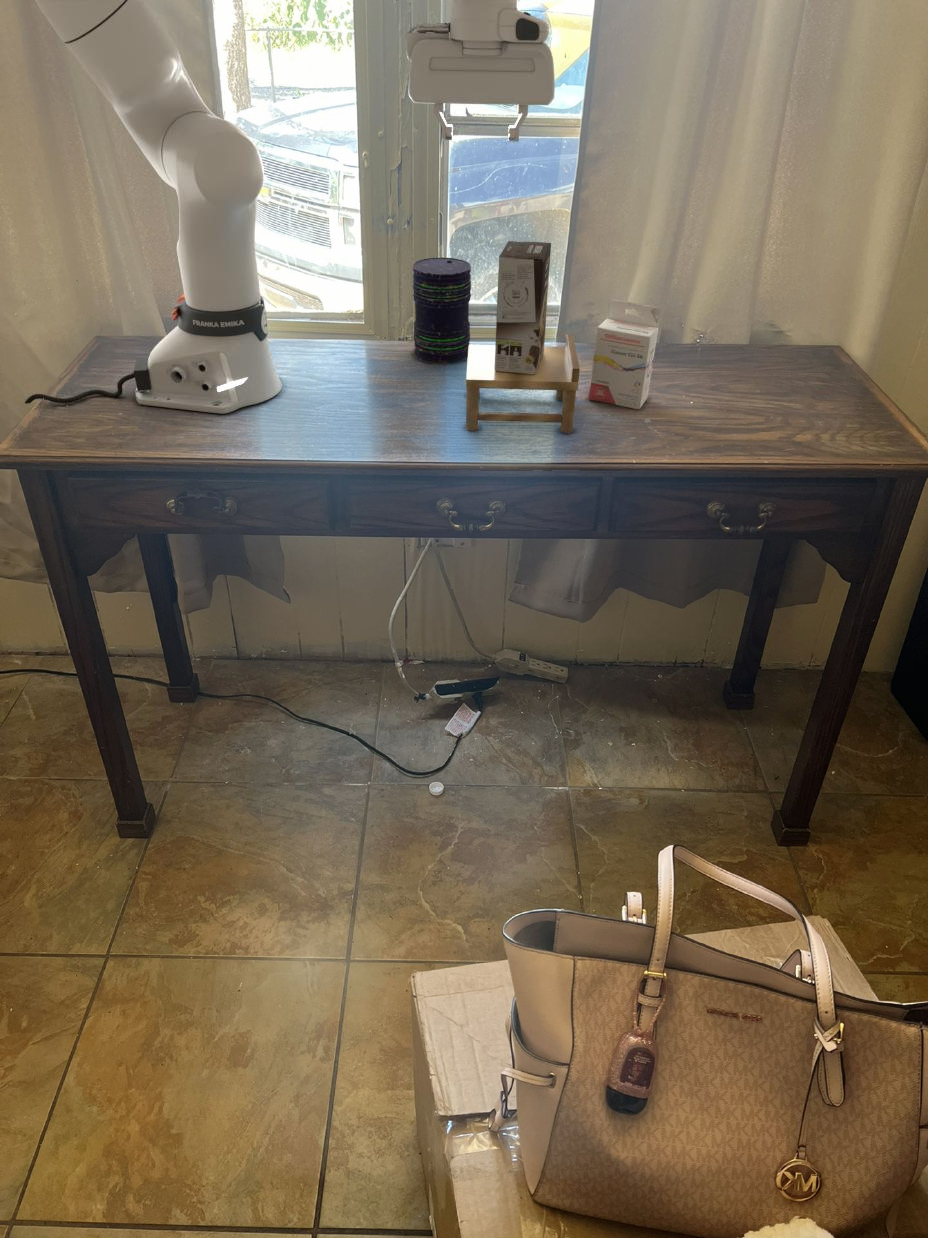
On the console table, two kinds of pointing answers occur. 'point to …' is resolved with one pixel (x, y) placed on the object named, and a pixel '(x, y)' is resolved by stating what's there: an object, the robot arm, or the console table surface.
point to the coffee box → (522, 306)
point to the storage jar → (441, 309)
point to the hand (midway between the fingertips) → (480, 140)
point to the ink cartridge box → (624, 355)
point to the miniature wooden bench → (524, 384)
